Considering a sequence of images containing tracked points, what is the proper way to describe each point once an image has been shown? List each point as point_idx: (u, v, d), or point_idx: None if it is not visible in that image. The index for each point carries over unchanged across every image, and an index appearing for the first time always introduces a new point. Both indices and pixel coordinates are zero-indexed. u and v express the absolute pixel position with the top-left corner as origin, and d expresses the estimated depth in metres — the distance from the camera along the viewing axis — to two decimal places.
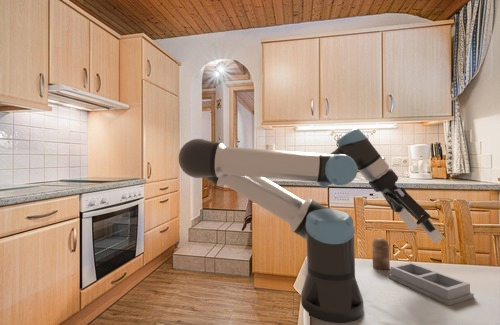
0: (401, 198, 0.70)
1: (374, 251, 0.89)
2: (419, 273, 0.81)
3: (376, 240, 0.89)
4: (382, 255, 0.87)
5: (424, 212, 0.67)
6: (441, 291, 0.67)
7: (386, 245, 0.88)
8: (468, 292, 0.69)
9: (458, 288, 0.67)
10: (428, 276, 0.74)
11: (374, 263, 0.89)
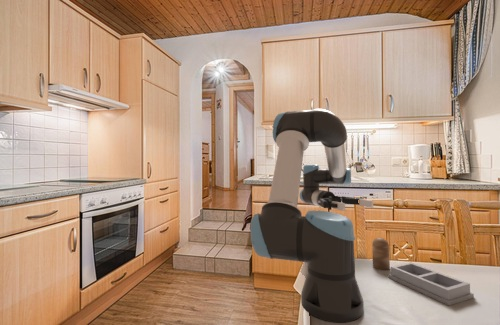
0: None
1: (374, 251, 0.89)
2: (419, 273, 0.81)
3: (376, 240, 0.89)
4: (382, 255, 0.87)
5: None
6: (441, 291, 0.67)
7: (386, 245, 0.88)
8: (468, 292, 0.69)
9: (458, 288, 0.67)
10: (428, 276, 0.74)
11: (374, 263, 0.89)
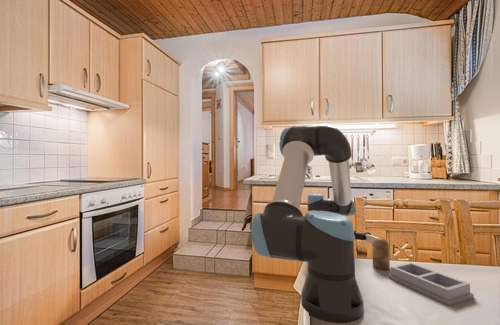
0: None
1: (374, 251, 0.89)
2: (419, 273, 0.81)
3: (376, 240, 0.89)
4: (382, 255, 0.87)
5: None
6: (441, 291, 0.67)
7: (386, 245, 0.88)
8: (468, 292, 0.69)
9: (458, 288, 0.67)
10: (428, 276, 0.74)
11: (374, 263, 0.89)
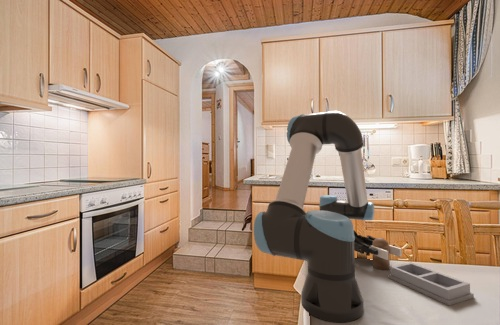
0: None
1: None
2: (419, 273, 0.81)
3: (376, 240, 0.89)
4: None
5: None
6: (441, 291, 0.67)
7: (386, 245, 0.88)
8: (468, 292, 0.69)
9: (458, 288, 0.67)
10: (428, 276, 0.74)
11: (374, 263, 0.89)
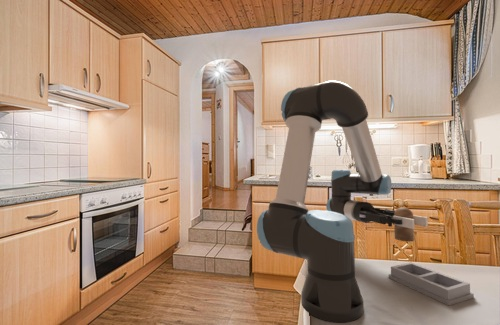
0: None
1: None
2: (419, 273, 0.81)
3: (399, 209, 0.82)
4: None
5: None
6: (441, 291, 0.67)
7: (410, 214, 0.80)
8: (468, 292, 0.69)
9: (458, 288, 0.67)
10: (428, 276, 0.74)
11: (397, 235, 0.82)
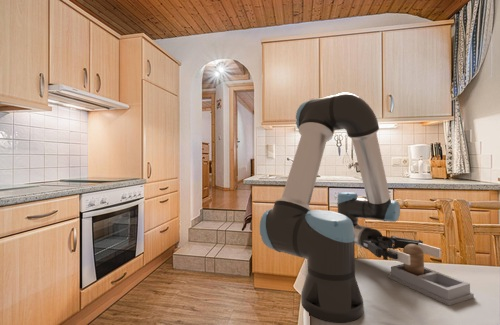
0: None
1: None
2: None
3: (408, 246, 0.78)
4: (416, 263, 0.76)
5: None
6: (441, 291, 0.67)
7: (421, 252, 0.77)
8: (468, 292, 0.69)
9: (458, 288, 0.67)
10: (428, 276, 0.74)
11: None
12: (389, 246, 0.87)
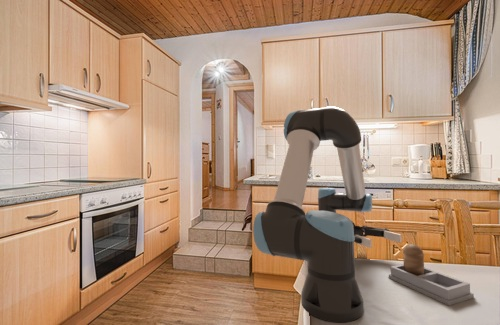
0: None
1: (406, 260, 0.78)
2: None
3: (408, 247, 0.78)
4: (417, 264, 0.76)
5: None
6: (441, 291, 0.67)
7: (421, 253, 0.76)
8: (468, 292, 0.69)
9: (458, 288, 0.67)
10: (428, 276, 0.74)
11: None
12: (359, 234, 0.99)
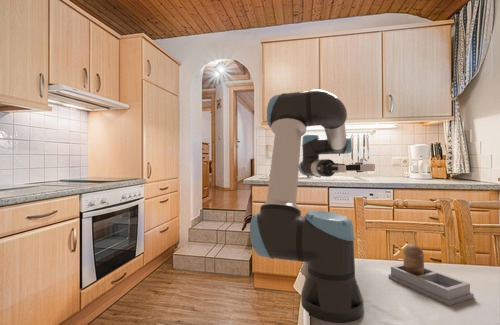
0: None
1: (406, 260, 0.78)
2: None
3: (408, 247, 0.78)
4: (417, 264, 0.76)
5: None
6: (441, 291, 0.67)
7: (421, 253, 0.76)
8: (468, 292, 0.69)
9: (458, 288, 0.67)
10: (428, 276, 0.74)
11: None
12: None
